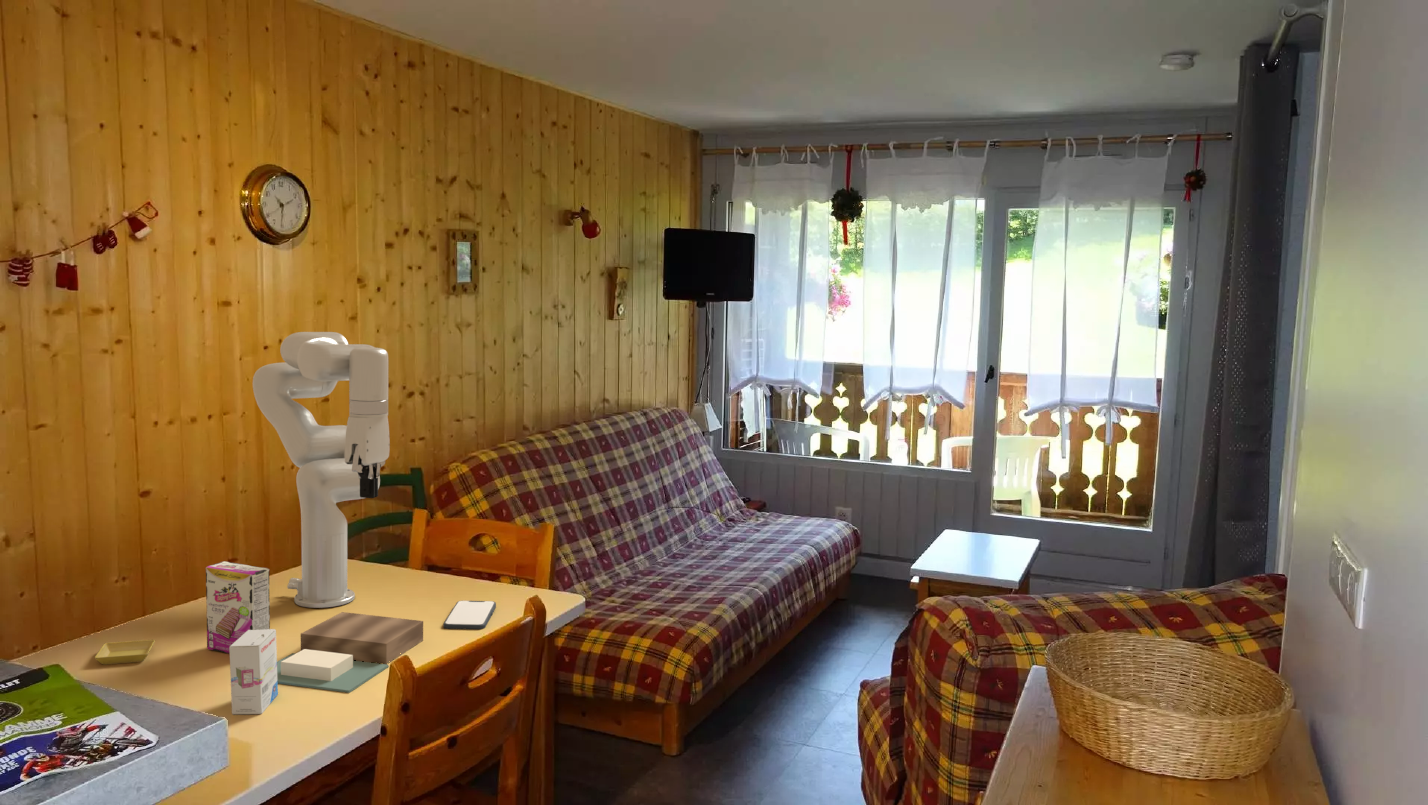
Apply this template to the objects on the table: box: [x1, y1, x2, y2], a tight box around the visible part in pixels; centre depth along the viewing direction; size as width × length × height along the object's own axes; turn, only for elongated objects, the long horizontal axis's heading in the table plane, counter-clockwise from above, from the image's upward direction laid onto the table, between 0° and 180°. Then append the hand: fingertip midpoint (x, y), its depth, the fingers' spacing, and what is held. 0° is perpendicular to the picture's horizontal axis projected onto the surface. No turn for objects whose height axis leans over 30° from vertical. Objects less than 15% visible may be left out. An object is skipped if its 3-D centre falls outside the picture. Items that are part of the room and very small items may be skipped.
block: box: [300, 611, 424, 665], centre depth 201 cm, size 18×14×4 cm
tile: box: [281, 649, 354, 681], centre depth 187 cm, size 10×7×2 cm
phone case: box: [442, 600, 497, 631], centre depth 222 cm, size 9×2×16 cm
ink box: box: [229, 628, 279, 715], centre depth 172 cm, size 9×5×12 cm, turn 5°
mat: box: [277, 652, 389, 694], centre depth 187 cm, size 20×13×1 cm, turn 78°
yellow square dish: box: [94, 639, 156, 665], centre depth 192 cm, size 9×9×2 cm
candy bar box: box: [205, 561, 271, 654], centre depth 196 cm, size 11×5×16 cm, turn 71°
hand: (368, 496), depth 211 cm, fingers closed
